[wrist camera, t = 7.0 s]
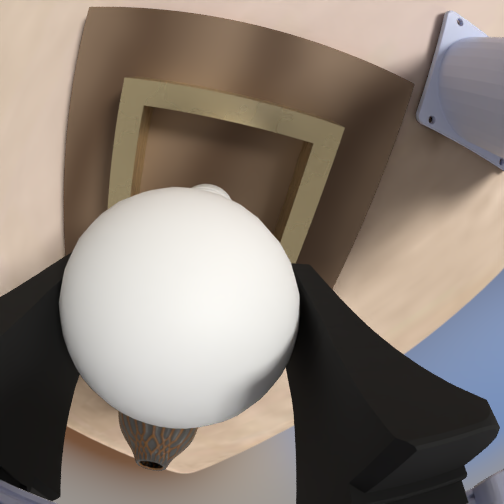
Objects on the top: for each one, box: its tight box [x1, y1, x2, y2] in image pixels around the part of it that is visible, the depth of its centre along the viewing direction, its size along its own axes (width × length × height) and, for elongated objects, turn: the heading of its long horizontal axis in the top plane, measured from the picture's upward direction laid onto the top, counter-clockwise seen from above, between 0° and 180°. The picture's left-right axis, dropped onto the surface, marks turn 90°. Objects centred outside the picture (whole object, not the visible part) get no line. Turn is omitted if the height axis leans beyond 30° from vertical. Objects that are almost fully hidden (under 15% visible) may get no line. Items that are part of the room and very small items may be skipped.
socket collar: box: [108, 77, 345, 263], centre depth 17 cm, size 10×10×2 cm
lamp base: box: [64, 7, 414, 289], centre depth 18 cm, size 18×18×1 cm
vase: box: [119, 411, 198, 471], centre depth 24 cm, size 7×7×9 cm
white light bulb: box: [59, 184, 300, 429], centre depth 10 cm, size 6×6×11 cm
